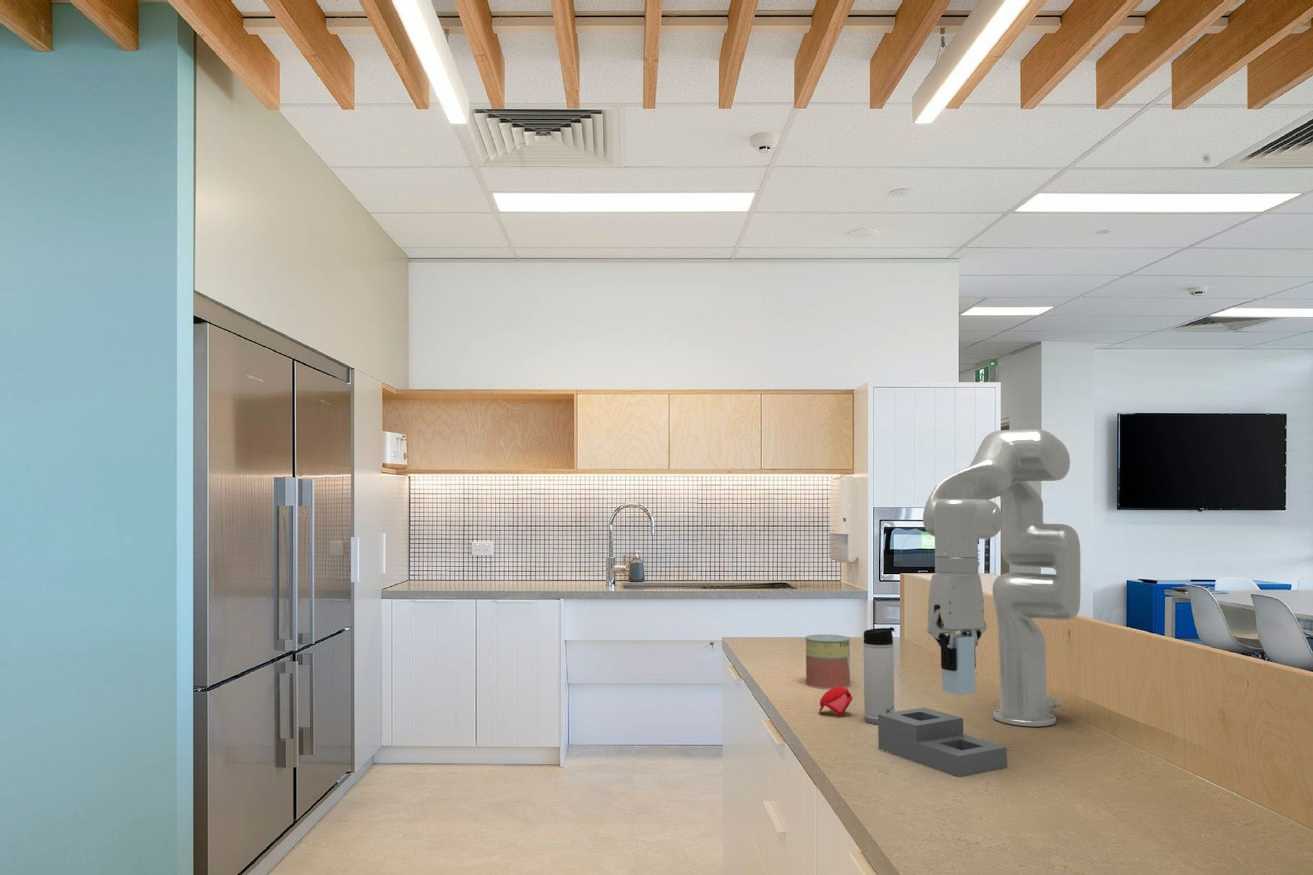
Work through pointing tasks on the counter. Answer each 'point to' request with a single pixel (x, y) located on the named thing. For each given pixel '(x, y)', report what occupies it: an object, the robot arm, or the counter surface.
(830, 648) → the canned food
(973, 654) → the plug
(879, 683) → the travel mug
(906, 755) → the socket panel
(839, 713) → the cap
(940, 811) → the counter surface
